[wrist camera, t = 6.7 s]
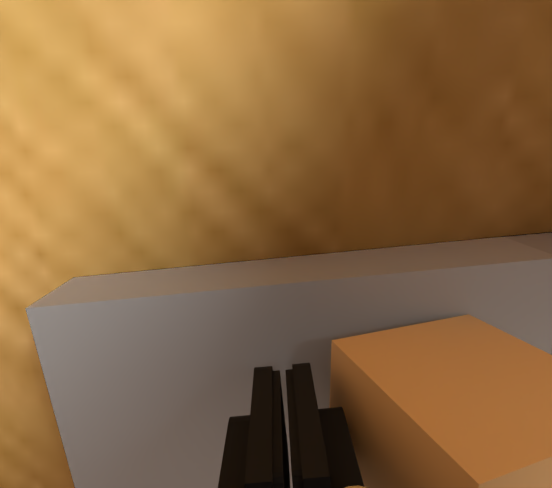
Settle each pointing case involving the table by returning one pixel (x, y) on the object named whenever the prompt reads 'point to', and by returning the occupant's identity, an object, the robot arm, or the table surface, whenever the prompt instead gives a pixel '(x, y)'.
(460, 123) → the table surface
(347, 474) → the robot arm
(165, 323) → the grey sorting tray
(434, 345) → the block
